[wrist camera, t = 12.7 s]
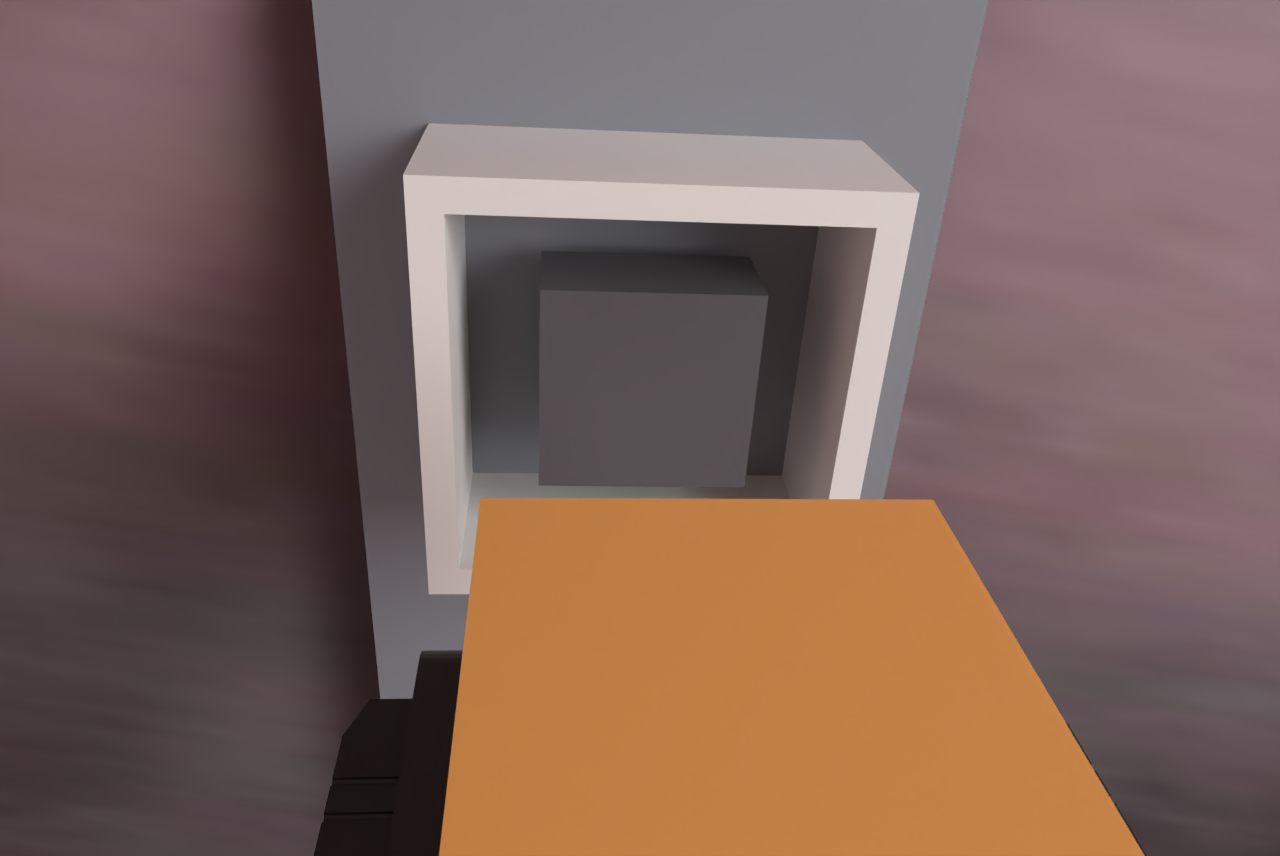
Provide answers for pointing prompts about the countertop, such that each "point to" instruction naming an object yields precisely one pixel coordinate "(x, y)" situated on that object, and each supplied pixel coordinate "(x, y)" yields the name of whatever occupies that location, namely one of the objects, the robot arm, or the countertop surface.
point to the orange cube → (752, 690)
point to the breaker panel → (620, 236)
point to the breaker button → (647, 368)
